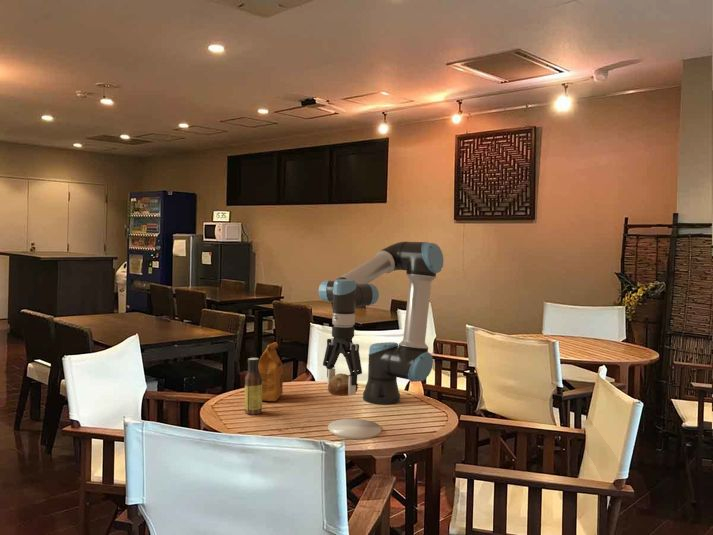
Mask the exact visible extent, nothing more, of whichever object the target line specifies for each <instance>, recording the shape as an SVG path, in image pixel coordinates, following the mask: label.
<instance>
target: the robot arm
mask: <svg viewBox="0 0 713 535" xmlns="http://www.w3.org/2000/svg"><path fill="white" fill-rule="evenodd" d="M443 267H444V255H443V251H442V250H441V247H440V246H439V245H438V244H437V243H436V242H435V243H434V242H429V241H400V242H396V243H393V244H391V245H388V246H386V247H384V248H383V249H380V250H379V251H378V252H376V253H375V255H374V257H371V258H370V259H368V260H366V262H363V263H362V264H360V265H359V266H357V267H355V268H353V269H352V270H350V271H348V272H346V273H345V274H343V275H342V276H340V277H338V278H336V279H335V280H323V281H322V282H321V283H320V284H319V286H318V287H319V288H318V296H319V298H320V299H321V300H322V301H324V302H329V303H332V318H331V319H332V323H331V324H332V327H331V337H333V338H327V339H326V350H325V352H324V356H323V357H324V358H323V362H322V366H324V367H325V368H326V378H327V386H326V388H327V389H328V385H329V382H330V380H331V378H332V377H333V376H335V375H336V366H335V365H336V363H337V361H338V358H339V356H340V354H341V355H342V356H343V357H344V358H345V362H346V366H347V367H348V371H349V374H348V375H349V381H348V395H347V396H352V395H356V394H357V392H356V385H357V384H358V376H359V375H362V374H363V369H362V363H361V356H360V344H359V343H353V338H354V337H355V323H356V321H355V320H356V308H357V307H364V306H365V307H366V306H367V307H368V306H371V305H374V304H376V303H377V302H378V301H379V299H380V298H379V297H380V292H379V289H378V287H377V285H375V284H373V283H371V282H373V281H375V280H377V279H378V278H379V277H381V276H383V275H384V274H390V273H392V272H393V271H405V272H406V274H405V275H406V277H407V278H408V279H409V283H408V289H407V290H408V292H407V300H406V301H407V302H406V312H405V320H404V329H403V330H404V331H403V338H402V340H401V341H400V342H399V343H398V342H393V341H392V342H391V341H389V342H377V343H372V344H370V346H369V348H368V349H369V350H368V366H367V368H368V370H367V371H368V372H367V381H366V384H365V388H364V391H363V392H362V399H363V401H365V402H367V403H370V404H378V405H390V404H391V405H392V404H396V403H397V404H398V403H399V402H400V401H401V393H400V390H399V386H398V382H397V380H398V379H397V378H399V379H404V380H409V381H411V382H423V381H425V380H426V379H427V378H428V377H429V376H430V374H431V372H432V369H433V364H434V359H433V355H432V353H430V352H429V346H428V345H427V343H426V337H427V335H426V334H427V327H428V317H429V316H428V315H429V308H430V307H429V306H430V297H431V290H432V289H431V288H432V282H433V281H434V280H435V279H436V278H437V274H438V273H440V272H441V271H442V269H443Z"/></svg>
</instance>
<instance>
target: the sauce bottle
mask: <svg viewBox="0 0 713 535" xmlns="http://www.w3.org/2000/svg"><path fill="white" fill-rule="evenodd" d="M259 360H260V358H258V357H250V358H247V364H248V365H247V373H246V374H245V376H244V409H245V410H244V413H245V414H248V415H259V414H261V413H262V412H263V410H262V409H263V401H262V380H261V376H260V373H259V369H258V363H259Z"/></svg>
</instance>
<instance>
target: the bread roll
mask: <svg viewBox="0 0 713 535" xmlns="http://www.w3.org/2000/svg"><path fill="white" fill-rule="evenodd" d="M349 375H350V374H346V373H337V374H335V376H333V377H332V378H331V380H330V382H329V385H328V384H327V385H328V388H327V392H328V393H329V394H330V395H332V396H338V397H340V396H341V397H342V396H344V397H345V396H347V397H348V396H349V395H348V381H349ZM358 386H359V384H358V383H357V385H356V393H357V391H358V390H359V387H358Z"/></svg>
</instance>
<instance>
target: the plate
mask: <svg viewBox="0 0 713 535" xmlns="http://www.w3.org/2000/svg"><path fill="white" fill-rule="evenodd" d="M328 430H329V431H328ZM327 431H328V433H329V432H331V433H332V434H334V435H333V436H335V435H336V436H335V437H337V436H338V438H341V439H347V440H349V439H350V440H366V439H367V440H368V439H373V438H376V437H378V436H379V435H381V434H382V426H381V425H380V424H378V423H377V422H374V421H371V420H367V419H361V418H342V419H341V418H340V419H337V420H334V421H331V422H329V424H328V425H327ZM331 433H330V434H331ZM332 434H331V435H332Z"/></svg>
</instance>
